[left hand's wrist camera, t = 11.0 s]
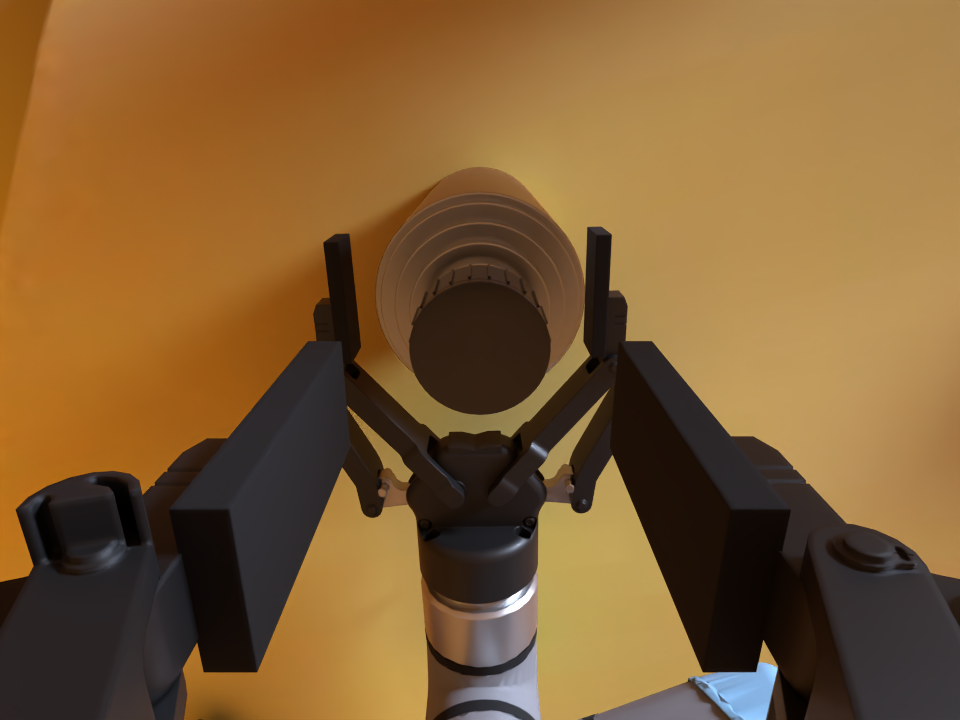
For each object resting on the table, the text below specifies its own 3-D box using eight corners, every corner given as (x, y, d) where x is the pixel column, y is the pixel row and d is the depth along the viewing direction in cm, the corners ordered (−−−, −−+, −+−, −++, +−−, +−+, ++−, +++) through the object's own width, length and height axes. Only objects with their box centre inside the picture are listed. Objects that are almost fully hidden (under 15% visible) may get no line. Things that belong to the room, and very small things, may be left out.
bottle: (521, 306, 39) (566, 488, 19) (405, 275, 38) (324, 430, 18) (558, 186, 36) (654, 252, 16) (434, 151, 36) (375, 174, 16)
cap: (523, 399, 20) (528, 431, 18) (402, 369, 20) (392, 398, 17) (561, 282, 19) (572, 301, 16) (432, 247, 18) (425, 262, 16)
